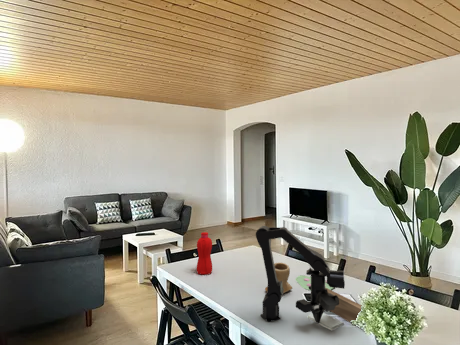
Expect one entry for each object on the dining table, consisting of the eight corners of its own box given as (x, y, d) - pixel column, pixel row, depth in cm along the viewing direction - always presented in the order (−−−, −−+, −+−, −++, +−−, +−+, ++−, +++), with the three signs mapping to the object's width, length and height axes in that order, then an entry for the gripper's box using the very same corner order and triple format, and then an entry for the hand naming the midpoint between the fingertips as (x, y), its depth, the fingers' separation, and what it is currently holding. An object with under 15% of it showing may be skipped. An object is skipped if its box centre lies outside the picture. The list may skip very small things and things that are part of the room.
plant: (284, 281, 175) (284, 266, 175) (307, 274, 187) (307, 259, 187) (320, 296, 155) (320, 278, 155) (343, 286, 167) (343, 270, 167)
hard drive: (344, 322, 126) (319, 310, 136) (331, 328, 121) (307, 315, 131) (344, 326, 126) (319, 314, 136) (331, 332, 121) (307, 319, 131)
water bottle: (213, 269, 193) (213, 230, 193) (210, 275, 183) (210, 234, 182) (199, 269, 194) (199, 230, 194) (195, 275, 183) (195, 233, 183)
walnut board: (366, 331, 120) (366, 311, 120) (320, 305, 143) (320, 288, 143) (371, 330, 121) (371, 310, 121) (324, 303, 145) (325, 287, 145)
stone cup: (279, 299, 149) (279, 269, 149) (261, 291, 159) (262, 263, 158) (298, 291, 159) (298, 263, 159) (281, 285, 168) (281, 258, 168)
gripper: (313, 296, 114) (313, 337, 115) (349, 288, 122) (349, 327, 123) (295, 286, 124) (294, 324, 125) (329, 279, 133) (329, 315, 133)
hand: (317, 322), depth 126 cm, fingers closed
